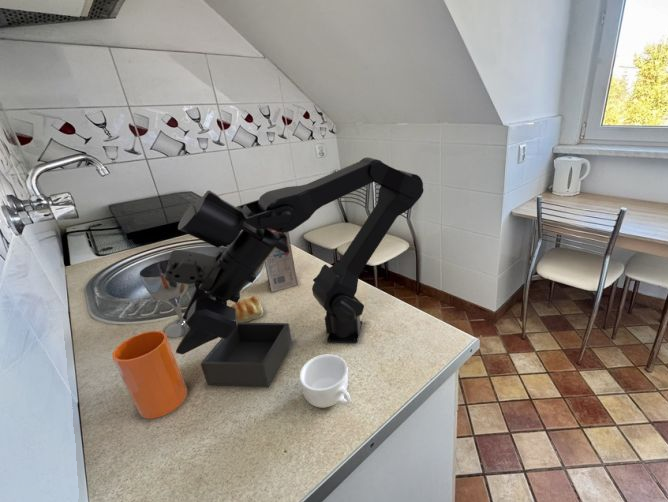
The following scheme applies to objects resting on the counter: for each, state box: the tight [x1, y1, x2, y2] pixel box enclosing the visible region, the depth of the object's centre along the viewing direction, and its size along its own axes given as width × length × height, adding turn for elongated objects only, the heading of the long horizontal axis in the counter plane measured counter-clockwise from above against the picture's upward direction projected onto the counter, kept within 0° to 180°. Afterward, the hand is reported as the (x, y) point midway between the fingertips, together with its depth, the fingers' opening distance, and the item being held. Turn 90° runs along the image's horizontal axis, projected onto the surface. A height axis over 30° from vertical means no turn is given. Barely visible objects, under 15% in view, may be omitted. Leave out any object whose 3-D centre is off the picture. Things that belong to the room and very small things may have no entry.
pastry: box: [230, 295, 264, 323], centre depth 74 cm, size 9×7×4 cm
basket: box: [200, 321, 293, 388], centre depth 61 cm, size 11×11×5 cm
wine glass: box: [139, 259, 191, 338], centre depth 69 cm, size 8×8×15 cm
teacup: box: [299, 353, 352, 408], centre depth 53 cm, size 10×8×5 cm
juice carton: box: [263, 229, 298, 293], centre depth 85 cm, size 7×7×22 cm
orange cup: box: [111, 330, 189, 420], centre depth 52 cm, size 7×7×12 cm
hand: (182, 334), depth 52 cm, fingers open, 9 cm apart
